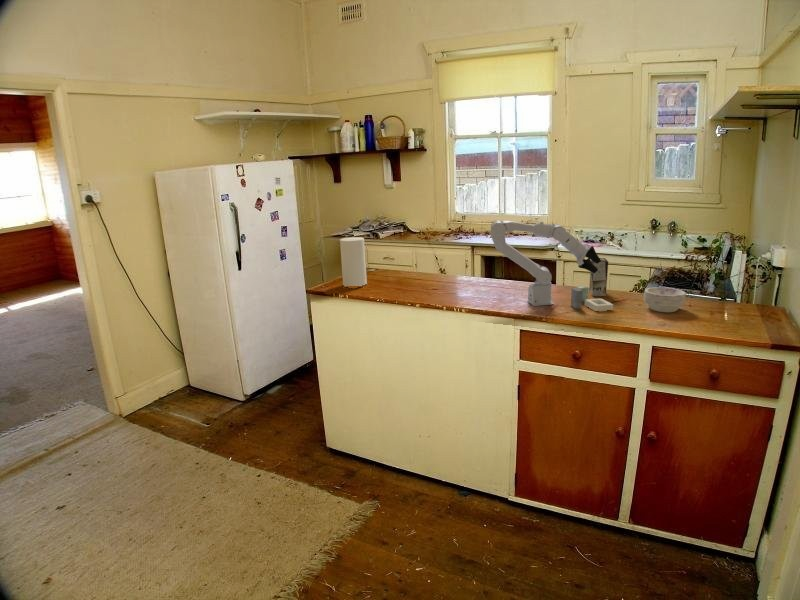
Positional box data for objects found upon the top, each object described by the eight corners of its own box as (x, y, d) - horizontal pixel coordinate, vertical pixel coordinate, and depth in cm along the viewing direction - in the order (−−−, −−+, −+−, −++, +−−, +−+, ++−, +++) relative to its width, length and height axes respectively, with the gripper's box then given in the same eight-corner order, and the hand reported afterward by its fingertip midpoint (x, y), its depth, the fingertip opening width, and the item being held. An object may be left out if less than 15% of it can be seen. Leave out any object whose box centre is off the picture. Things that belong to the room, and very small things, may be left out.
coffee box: (606, 296, 238) (608, 261, 234) (591, 296, 240) (593, 261, 235) (603, 291, 247) (605, 257, 243) (588, 291, 248) (590, 257, 244)
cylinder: (368, 287, 273) (365, 239, 266) (344, 289, 270) (341, 241, 263) (364, 282, 284) (361, 236, 278) (341, 284, 282) (338, 238, 275)
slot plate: (595, 311, 217) (596, 305, 216) (584, 305, 226) (584, 299, 226) (612, 310, 218) (613, 304, 217) (600, 303, 227) (601, 298, 226)
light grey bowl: (677, 304, 222) (679, 286, 220) (689, 315, 207) (691, 296, 205) (639, 304, 225) (640, 286, 223) (647, 314, 211) (649, 295, 208)
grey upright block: (579, 302, 231) (580, 289, 229) (574, 299, 235) (575, 286, 234) (589, 301, 231) (589, 288, 230) (584, 299, 236) (585, 286, 234)
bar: (576, 309, 221) (576, 290, 219) (570, 306, 226) (571, 288, 224) (581, 308, 222) (582, 290, 219) (576, 305, 226) (577, 287, 224)
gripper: (577, 249, 215) (601, 270, 216) (584, 232, 226) (607, 252, 226) (565, 259, 221) (589, 279, 221) (572, 241, 231) (595, 261, 231)
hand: (597, 266), depth 224 cm, fingers open, 7 cm apart
